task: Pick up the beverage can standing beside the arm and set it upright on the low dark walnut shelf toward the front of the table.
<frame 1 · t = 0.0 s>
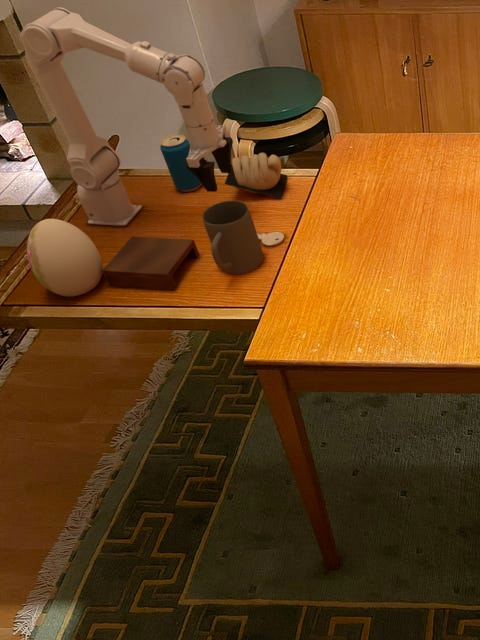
hand: (219, 181, 153), 10 cm above the table, tool pointing down, fingers open, 7 cm apart
decorative egg: (79, 285, 146), on the table
decorative object: (261, 159, 170), point 5 cm above the table
beverage can: (190, 187, 173), on the table
mug: (238, 269, 147), on the table
key: (268, 229, 156), on the table
shelf: (156, 270, 148), on the table
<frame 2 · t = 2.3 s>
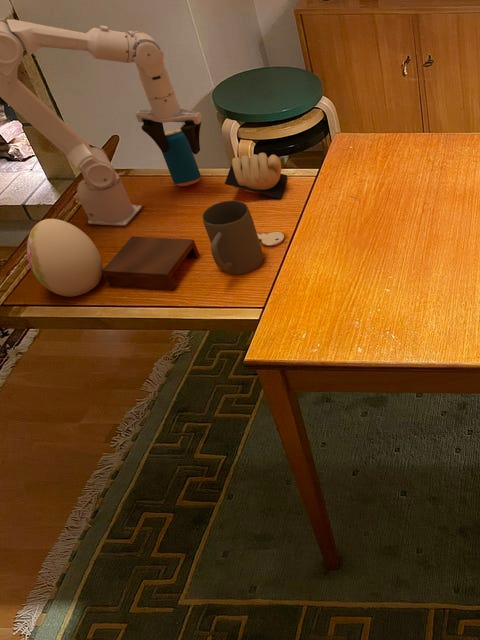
hand: (181, 151, 163), 10 cm above the table, tool pointing down, fingers open, 7 cm apart
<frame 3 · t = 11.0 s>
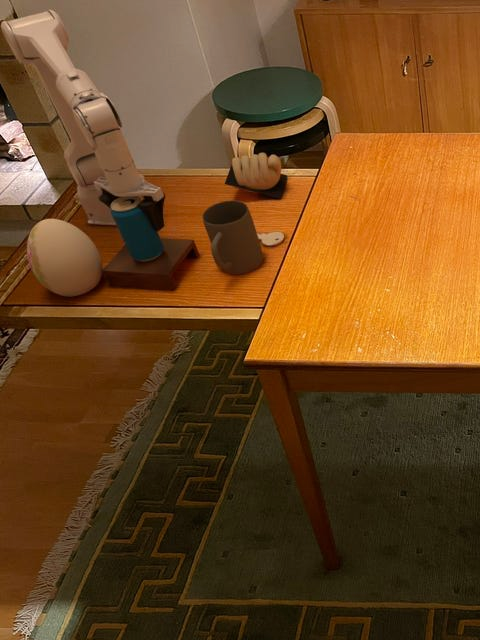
hand: (144, 225, 143), 9 cm above the table, tool pointing down, fingers open, 7 cm apart
beverage can: (149, 255, 145), point 4 cm above the table, touching shelf
everything else where it was.
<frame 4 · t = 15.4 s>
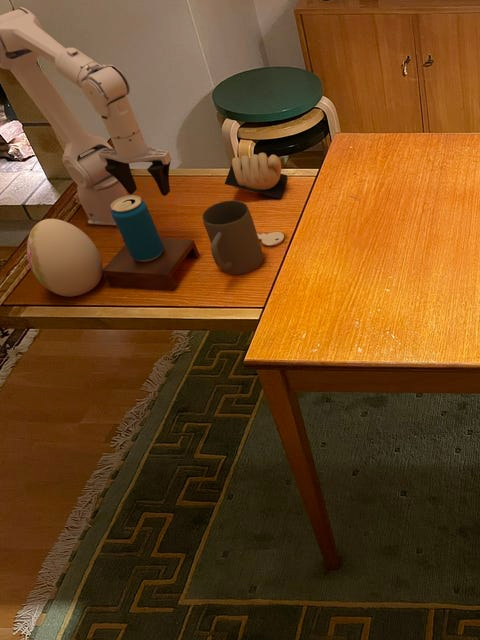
hand: (149, 192, 151), 10 cm above the table, tool pointing down, fingers open, 7 cm apart
nothing on the table moved.
at the end: beverage can inside the target area on the shelf (0.1 cm from its centre), point 3.8 cm above the shelf's base; beverage can tilted 0°; the gripper is holding nothing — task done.
